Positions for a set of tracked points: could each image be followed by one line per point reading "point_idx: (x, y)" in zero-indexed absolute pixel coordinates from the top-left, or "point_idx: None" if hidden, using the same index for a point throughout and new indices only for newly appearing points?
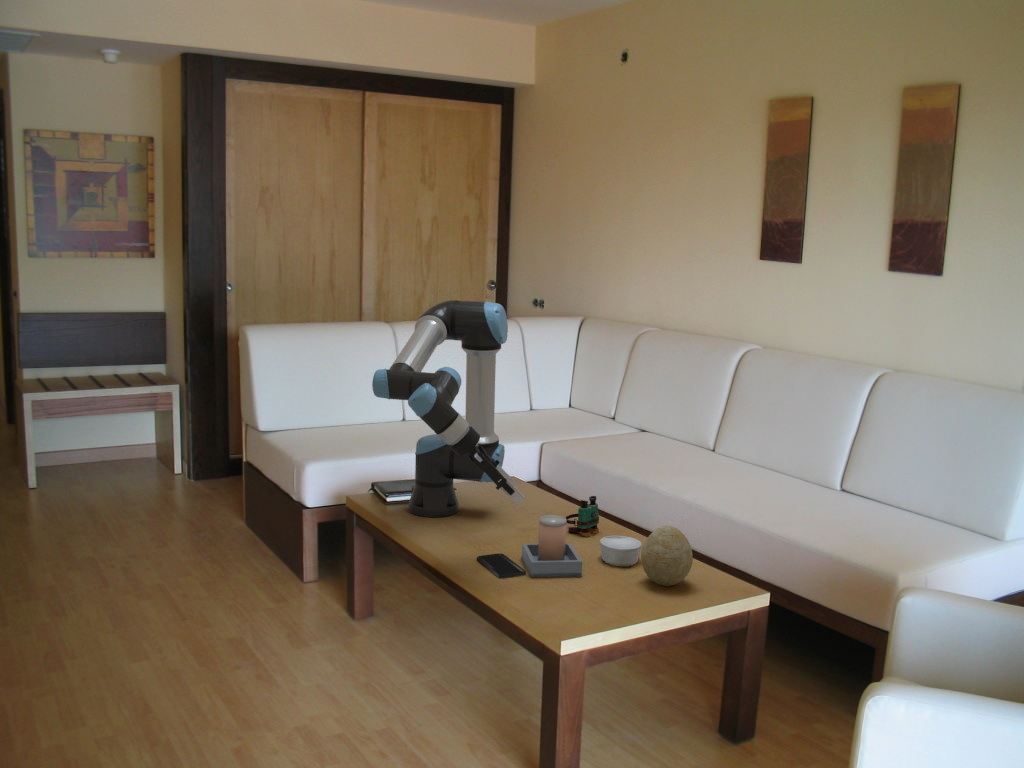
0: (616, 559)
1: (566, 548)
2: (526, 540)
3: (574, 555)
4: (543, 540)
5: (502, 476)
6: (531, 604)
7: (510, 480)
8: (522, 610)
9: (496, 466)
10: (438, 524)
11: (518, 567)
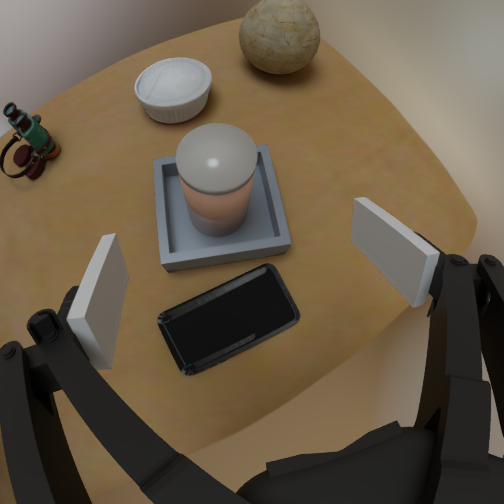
0: (206, 99)
1: (163, 171)
2: (63, 259)
3: None
4: (243, 202)
5: (493, 274)
6: None
7: (113, 257)
8: None
9: (74, 336)
10: None
11: (241, 279)
